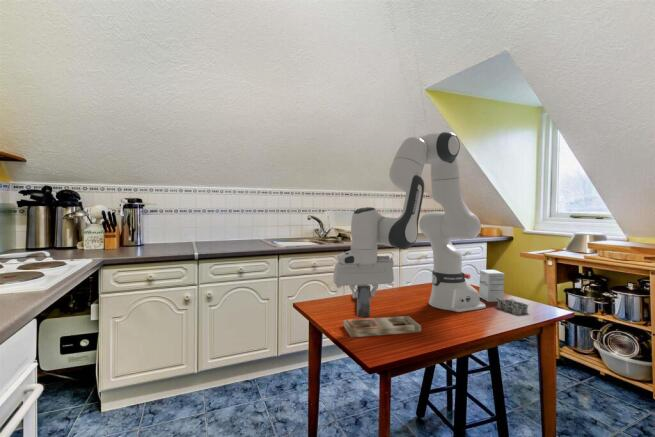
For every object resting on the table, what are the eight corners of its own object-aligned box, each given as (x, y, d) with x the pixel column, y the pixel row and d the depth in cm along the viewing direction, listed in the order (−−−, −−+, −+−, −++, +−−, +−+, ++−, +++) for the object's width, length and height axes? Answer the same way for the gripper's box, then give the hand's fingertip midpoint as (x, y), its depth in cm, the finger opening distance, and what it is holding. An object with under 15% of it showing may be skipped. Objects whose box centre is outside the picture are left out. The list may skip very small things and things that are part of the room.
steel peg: (367, 312, 116) (368, 284, 116) (371, 317, 112) (372, 287, 111) (355, 313, 115) (355, 284, 115) (359, 318, 111) (359, 288, 110)
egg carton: (494, 307, 140) (494, 297, 140) (508, 305, 142) (509, 296, 142) (516, 315, 130) (516, 305, 130) (531, 313, 132) (531, 303, 132)
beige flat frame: (408, 321, 122) (408, 315, 122) (421, 331, 113) (421, 325, 112) (343, 325, 118) (343, 319, 118) (351, 337, 108) (351, 330, 108)
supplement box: (478, 297, 154) (479, 269, 153) (494, 296, 154) (495, 269, 154) (487, 302, 146) (488, 273, 146) (503, 301, 147) (504, 272, 146)
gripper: (390, 254, 118) (389, 293, 118) (332, 255, 114) (332, 296, 114) (397, 257, 112) (396, 298, 112) (336, 258, 108) (336, 301, 108)
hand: (363, 297), depth 113 cm, fingers closed on steel peg, 4 cm apart
